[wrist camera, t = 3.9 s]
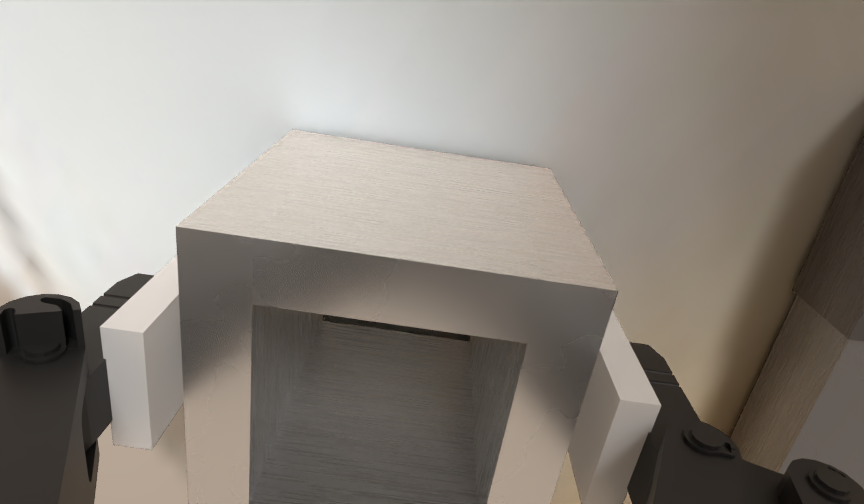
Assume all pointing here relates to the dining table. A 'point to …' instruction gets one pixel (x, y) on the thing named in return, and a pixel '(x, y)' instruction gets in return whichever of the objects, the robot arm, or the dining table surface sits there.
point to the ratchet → (817, 354)
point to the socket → (379, 348)
